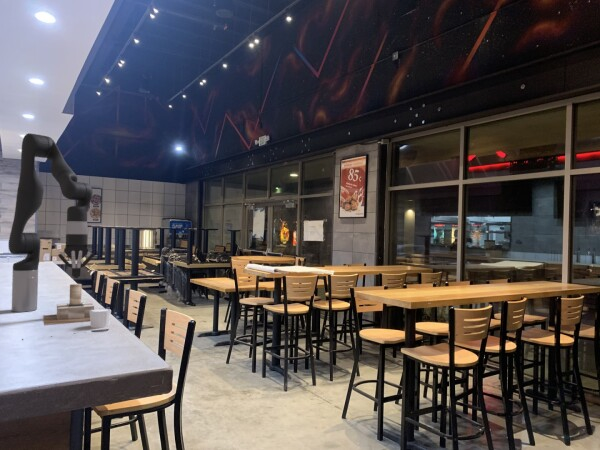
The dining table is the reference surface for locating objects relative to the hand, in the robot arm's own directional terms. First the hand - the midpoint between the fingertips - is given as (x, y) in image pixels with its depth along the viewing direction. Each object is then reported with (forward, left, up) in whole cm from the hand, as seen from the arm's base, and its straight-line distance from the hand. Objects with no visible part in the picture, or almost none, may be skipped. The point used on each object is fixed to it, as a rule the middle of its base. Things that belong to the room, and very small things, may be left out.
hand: (75, 277), depth 166 cm
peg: (0, 0, -15) cm, 15 cm away
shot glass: (+24, +6, -16) cm, 30 cm away
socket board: (+4, -2, -16) cm, 17 cm away
